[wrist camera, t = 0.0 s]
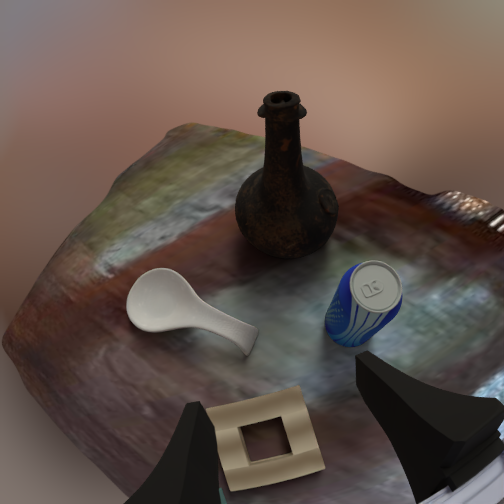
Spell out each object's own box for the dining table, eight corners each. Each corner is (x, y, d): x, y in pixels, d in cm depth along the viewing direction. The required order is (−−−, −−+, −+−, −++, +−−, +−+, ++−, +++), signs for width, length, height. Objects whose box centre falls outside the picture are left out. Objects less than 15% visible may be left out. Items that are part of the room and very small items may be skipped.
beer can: (331, 294, 47) (351, 245, 33) (376, 308, 45) (412, 264, 31) (317, 340, 43) (333, 308, 30) (365, 354, 41) (402, 328, 27)
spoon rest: (124, 322, 48) (104, 309, 42) (152, 269, 53) (137, 250, 47) (241, 375, 42) (234, 370, 36) (267, 310, 47) (265, 294, 41)
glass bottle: (319, 283, 48) (349, 158, 24) (225, 255, 53) (182, 130, 29) (340, 206, 56) (363, 83, 32) (258, 186, 61) (243, 66, 37)
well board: (322, 464, 33) (325, 468, 30) (233, 486, 32) (230, 491, 30) (298, 386, 40) (299, 385, 37) (210, 408, 39) (206, 408, 37)
